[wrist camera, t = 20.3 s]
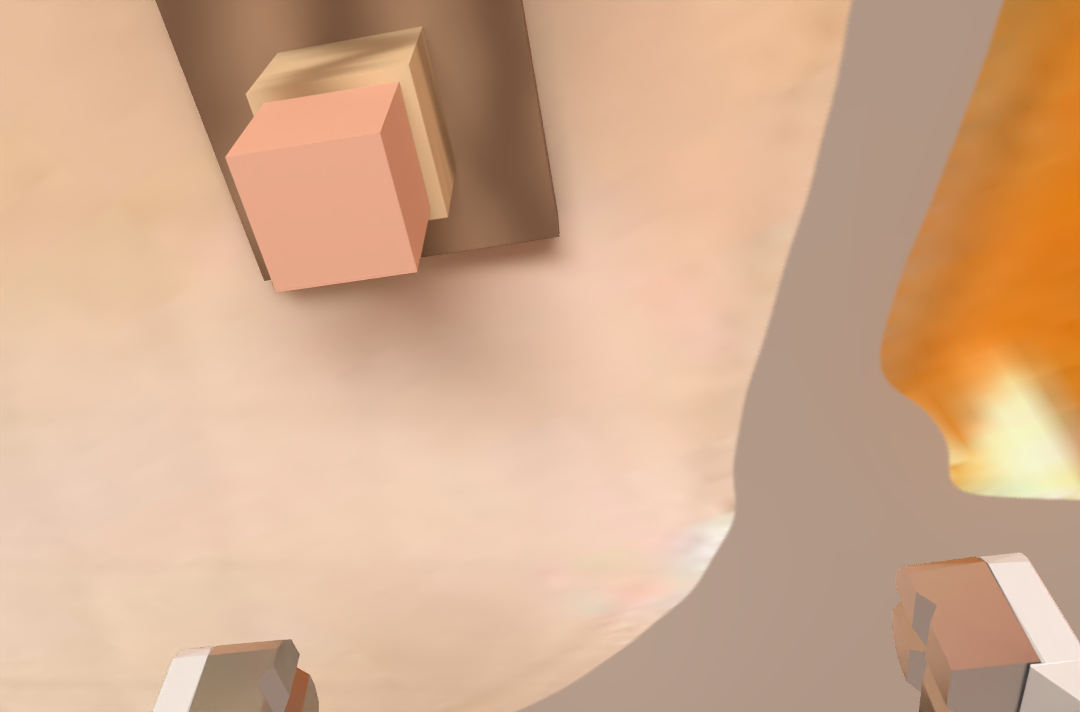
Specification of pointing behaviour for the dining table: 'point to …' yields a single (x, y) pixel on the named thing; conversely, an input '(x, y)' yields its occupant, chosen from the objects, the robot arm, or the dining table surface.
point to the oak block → (369, 66)
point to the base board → (462, 80)
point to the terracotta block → (333, 187)
